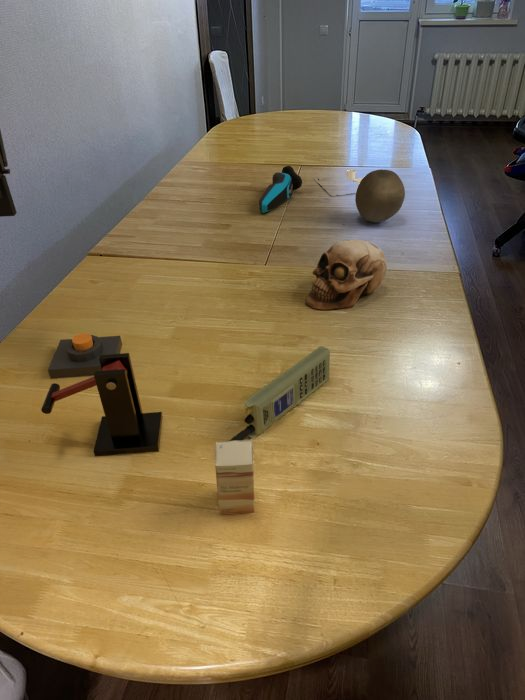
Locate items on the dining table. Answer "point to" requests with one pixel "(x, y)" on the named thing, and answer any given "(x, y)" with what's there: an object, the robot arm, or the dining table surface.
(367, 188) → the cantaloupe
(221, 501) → the small printed carton
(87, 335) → the button
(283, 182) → the electric shaver
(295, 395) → the handheld radio
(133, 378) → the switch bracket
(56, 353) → the control block
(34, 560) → the dining table surface
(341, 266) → the tan skull
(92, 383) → the switch lever
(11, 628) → the dining table surface
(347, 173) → the teacup and saucer
